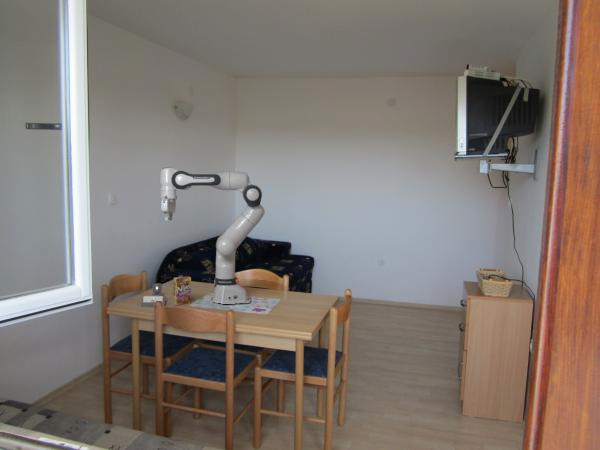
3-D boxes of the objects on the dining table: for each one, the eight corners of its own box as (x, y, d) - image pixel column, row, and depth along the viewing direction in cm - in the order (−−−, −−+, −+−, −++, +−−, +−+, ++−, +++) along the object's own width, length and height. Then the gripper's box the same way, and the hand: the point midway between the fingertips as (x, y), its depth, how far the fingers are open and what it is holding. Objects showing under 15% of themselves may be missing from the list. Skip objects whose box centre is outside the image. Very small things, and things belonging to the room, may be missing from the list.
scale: (166, 300, 264) (166, 291, 264) (164, 306, 252) (164, 297, 251) (144, 301, 262) (144, 291, 261) (141, 307, 250) (141, 297, 249)
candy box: (175, 305, 255) (175, 278, 254) (172, 303, 259) (173, 277, 257) (190, 303, 260) (191, 277, 259) (188, 302, 264) (188, 275, 262)
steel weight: (162, 296, 274) (162, 283, 273) (161, 298, 269) (161, 285, 268) (153, 296, 273) (153, 283, 272) (152, 298, 268) (152, 285, 267)
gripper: (169, 195, 249) (170, 220, 249) (177, 196, 269) (177, 220, 270) (157, 195, 249) (158, 220, 249) (166, 196, 269) (167, 220, 269)
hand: (168, 220), depth 259 cm, fingers open, 8 cm apart
